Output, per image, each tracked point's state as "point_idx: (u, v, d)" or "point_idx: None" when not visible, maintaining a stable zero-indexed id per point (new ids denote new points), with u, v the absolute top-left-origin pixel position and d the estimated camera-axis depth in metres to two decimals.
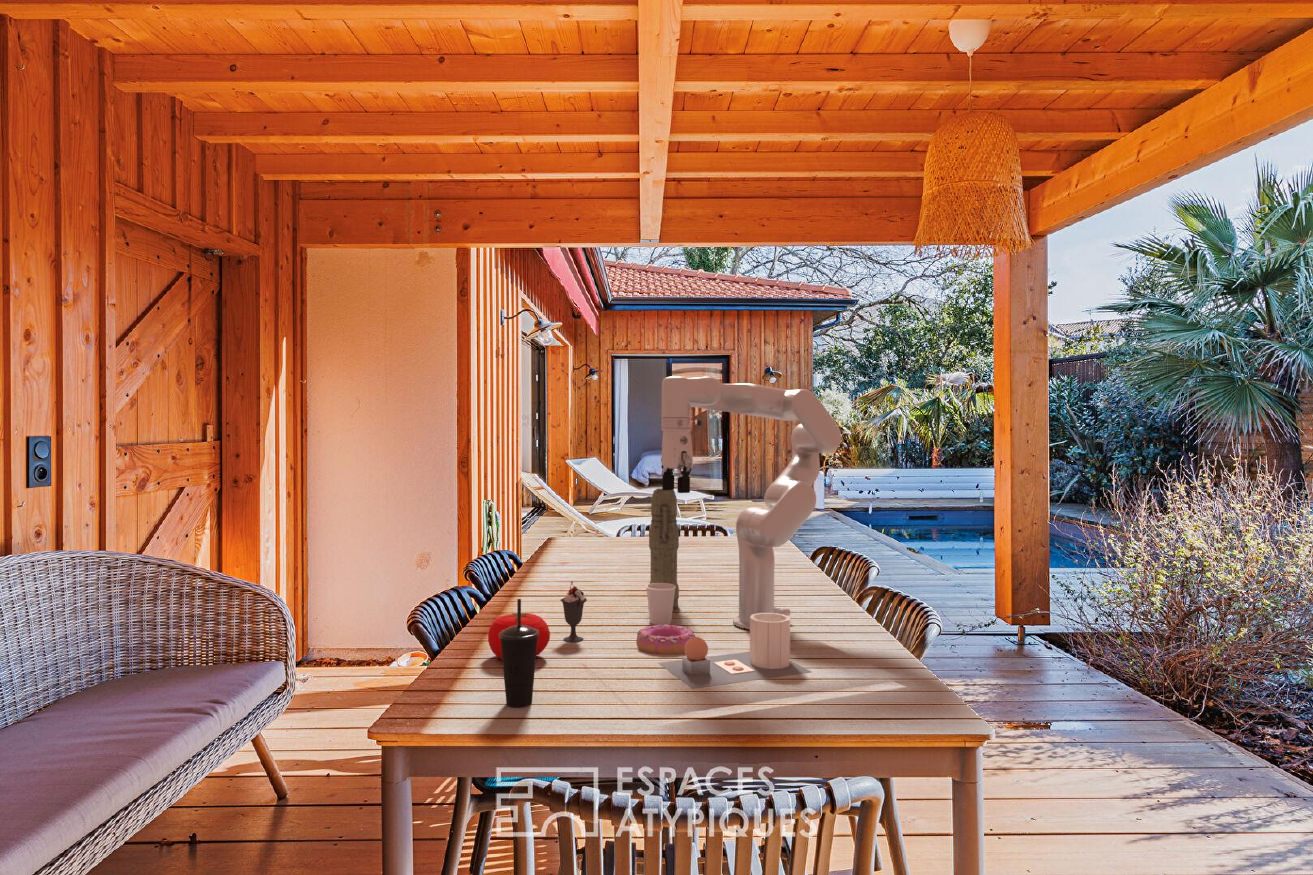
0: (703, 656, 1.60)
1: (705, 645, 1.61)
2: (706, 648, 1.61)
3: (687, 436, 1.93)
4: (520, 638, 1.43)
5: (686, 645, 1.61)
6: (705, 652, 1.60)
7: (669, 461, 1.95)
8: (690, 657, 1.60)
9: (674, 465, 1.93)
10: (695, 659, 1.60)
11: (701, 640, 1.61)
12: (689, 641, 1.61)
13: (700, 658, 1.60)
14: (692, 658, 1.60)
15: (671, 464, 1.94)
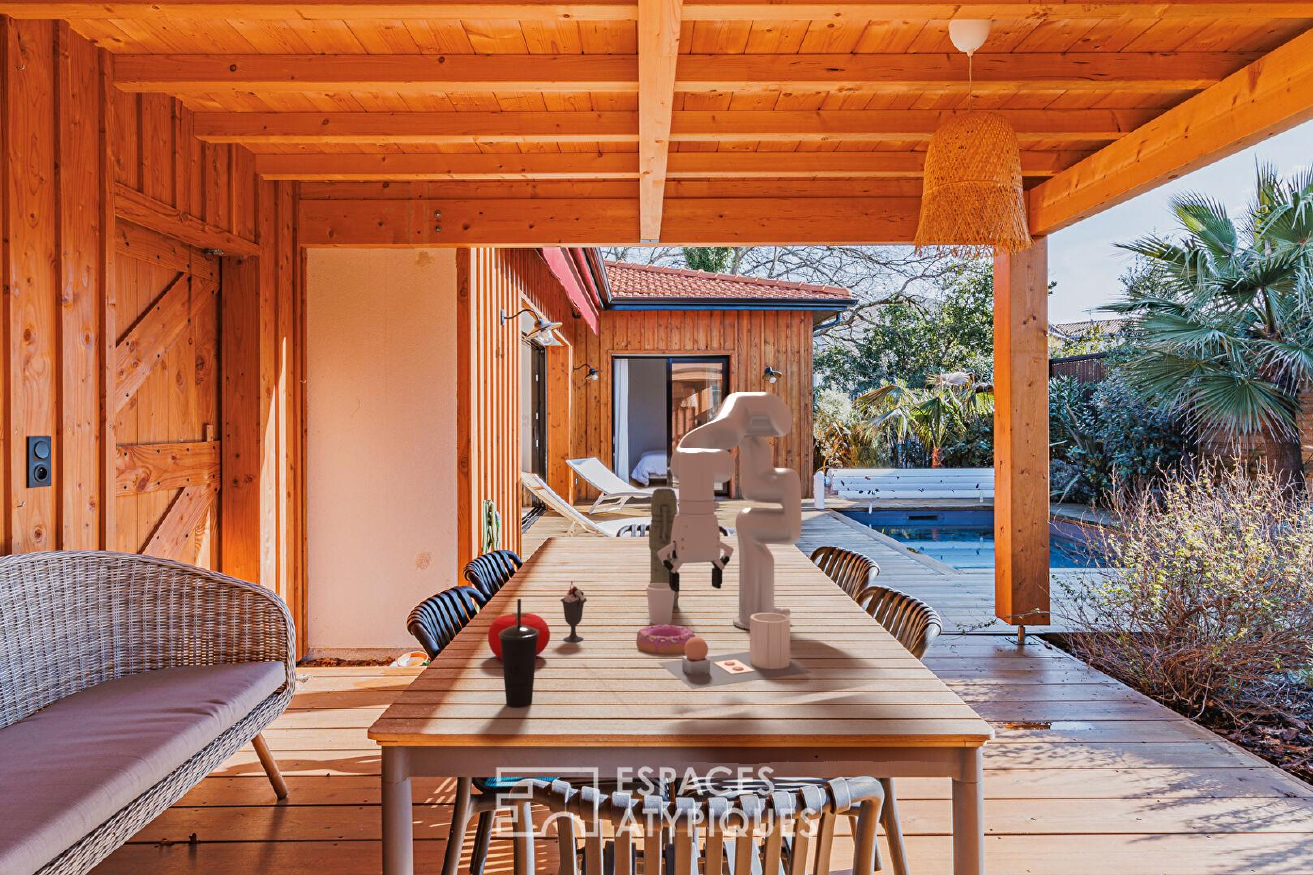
0: (703, 656, 1.60)
1: (705, 645, 1.61)
2: (706, 648, 1.61)
3: None
4: (520, 638, 1.43)
5: (686, 645, 1.61)
6: (705, 652, 1.60)
7: (704, 554, 1.60)
8: (690, 657, 1.60)
9: (716, 557, 1.62)
10: (695, 659, 1.60)
11: (701, 640, 1.61)
12: (689, 641, 1.61)
13: (700, 658, 1.60)
14: (692, 658, 1.60)
15: (708, 556, 1.61)
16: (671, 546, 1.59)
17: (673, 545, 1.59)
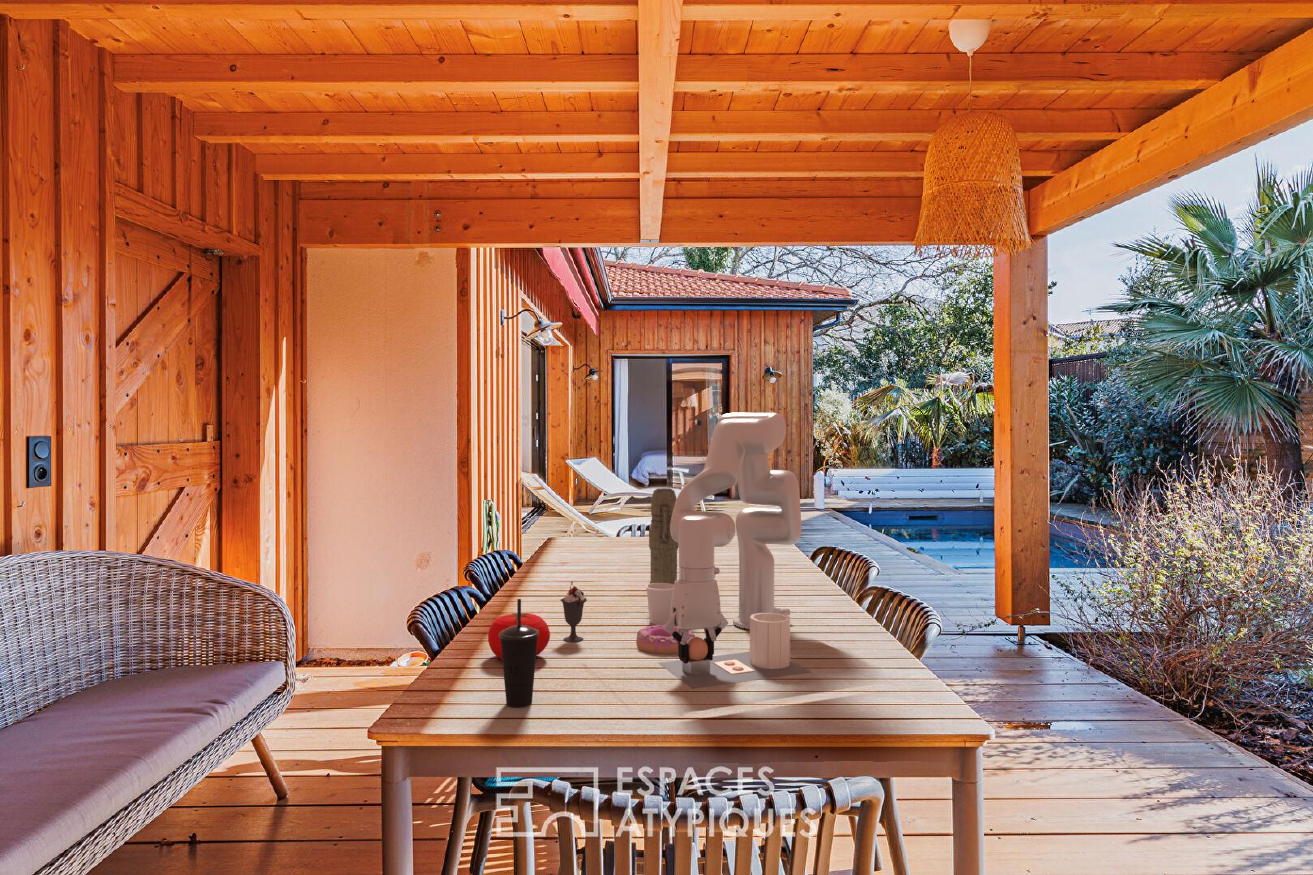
0: (703, 656, 1.60)
1: (705, 645, 1.61)
2: (706, 648, 1.61)
3: None
4: (520, 638, 1.43)
5: None
6: (705, 652, 1.60)
7: (704, 621, 1.60)
8: (690, 657, 1.60)
9: (716, 623, 1.61)
10: (695, 659, 1.60)
11: (701, 640, 1.61)
12: (689, 641, 1.61)
13: (700, 658, 1.60)
14: (692, 658, 1.60)
15: (709, 623, 1.61)
16: (674, 617, 1.59)
17: (675, 616, 1.60)
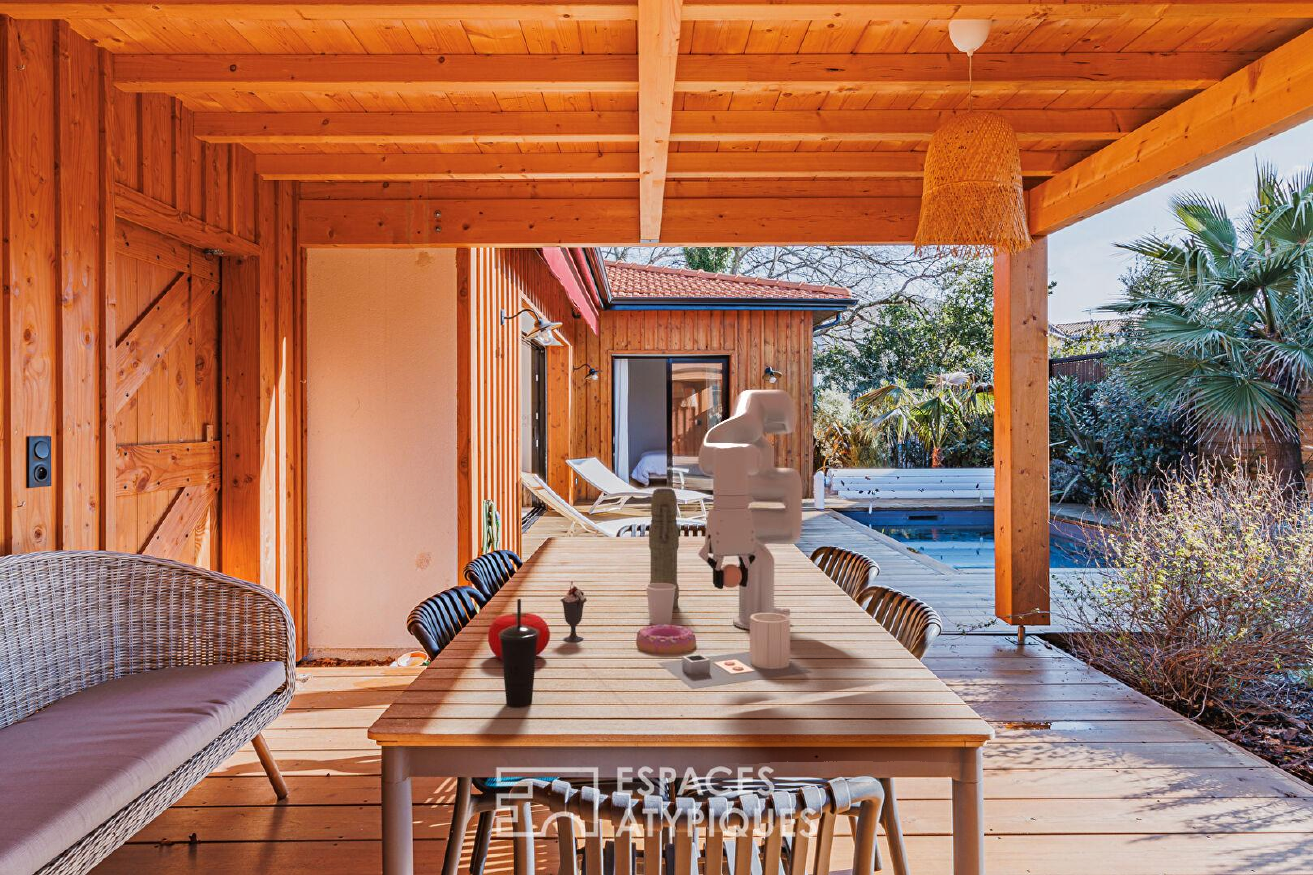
0: (737, 582, 1.63)
1: (739, 571, 1.64)
2: (740, 574, 1.64)
3: None
4: (520, 638, 1.43)
5: None
6: (739, 578, 1.63)
7: (738, 547, 1.63)
8: (724, 583, 1.63)
9: (750, 550, 1.64)
10: (729, 585, 1.63)
11: (735, 567, 1.64)
12: (723, 568, 1.64)
13: (734, 584, 1.63)
14: (726, 584, 1.63)
15: (743, 550, 1.64)
16: (709, 544, 1.62)
17: (710, 542, 1.63)
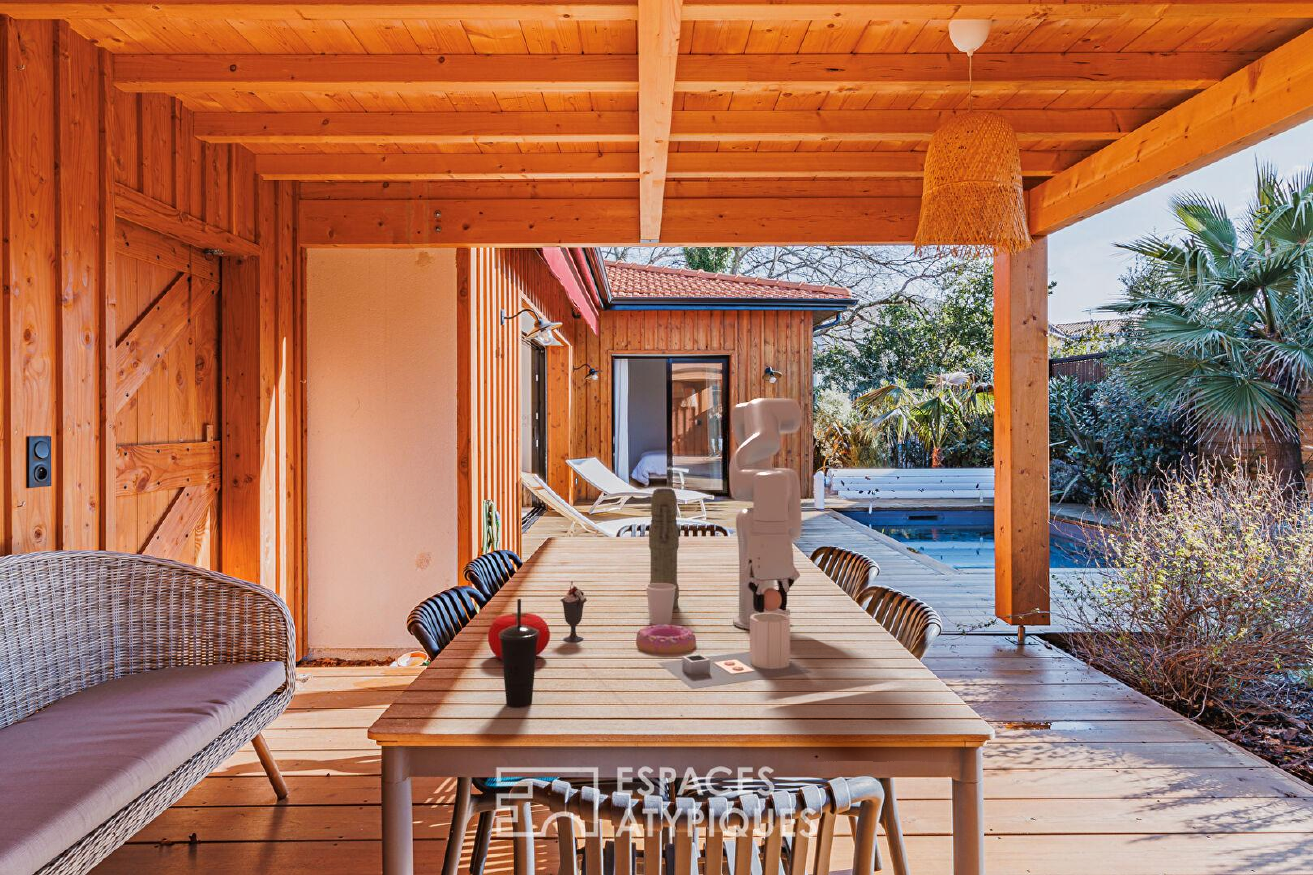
0: (778, 606, 1.67)
1: (779, 595, 1.68)
2: (780, 598, 1.68)
3: None
4: (520, 638, 1.43)
5: None
6: (779, 602, 1.67)
7: (779, 572, 1.67)
8: (765, 607, 1.67)
9: (789, 574, 1.68)
10: (770, 609, 1.67)
11: (775, 591, 1.68)
12: (764, 592, 1.68)
13: (775, 608, 1.67)
14: (767, 608, 1.67)
15: (783, 574, 1.67)
16: (750, 568, 1.66)
17: (751, 567, 1.66)
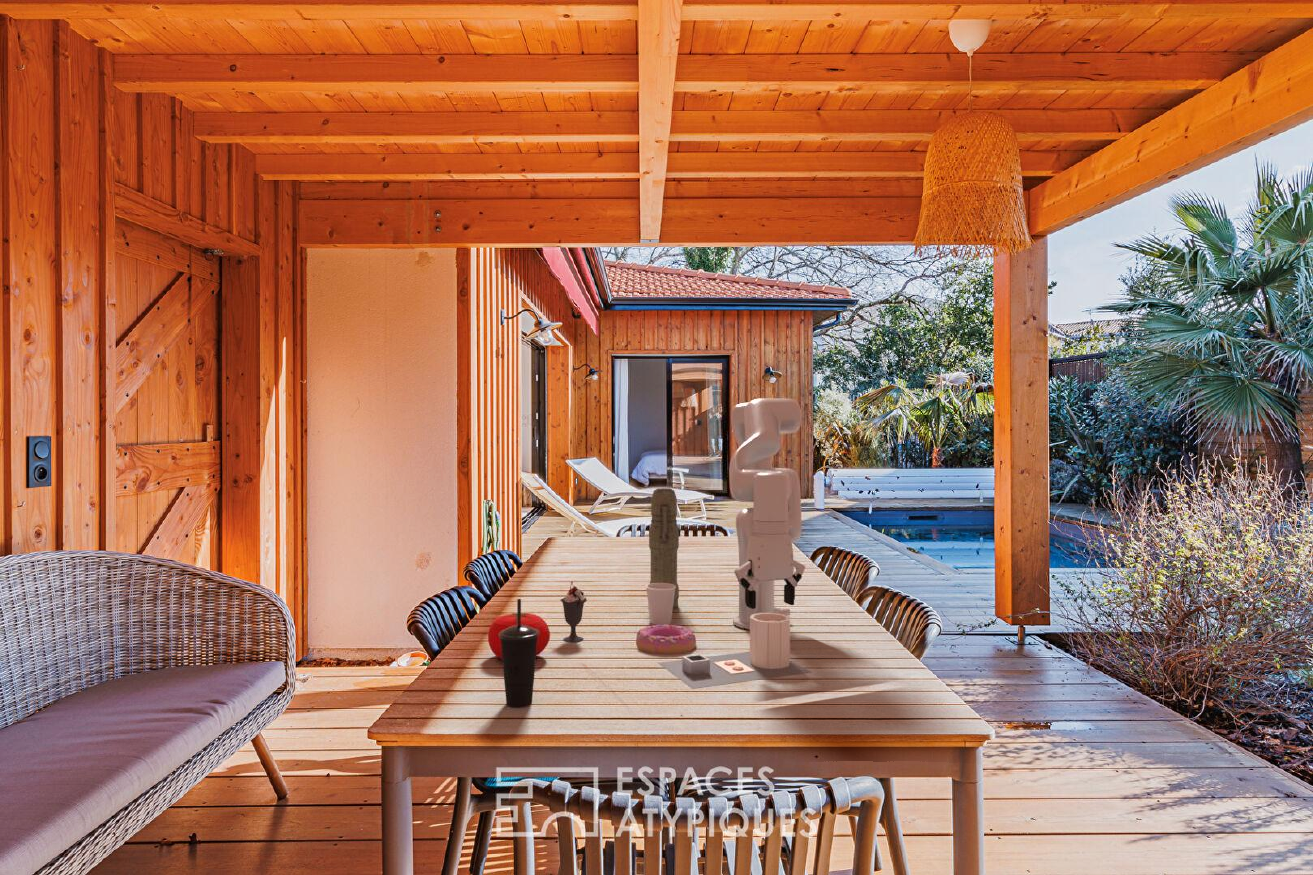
0: None
1: None
2: None
3: None
4: (520, 638, 1.43)
5: None
6: None
7: (779, 572, 1.67)
8: None
9: (789, 575, 1.68)
10: None
11: None
12: None
13: None
14: None
15: (783, 574, 1.67)
16: (748, 565, 1.66)
17: (749, 564, 1.66)
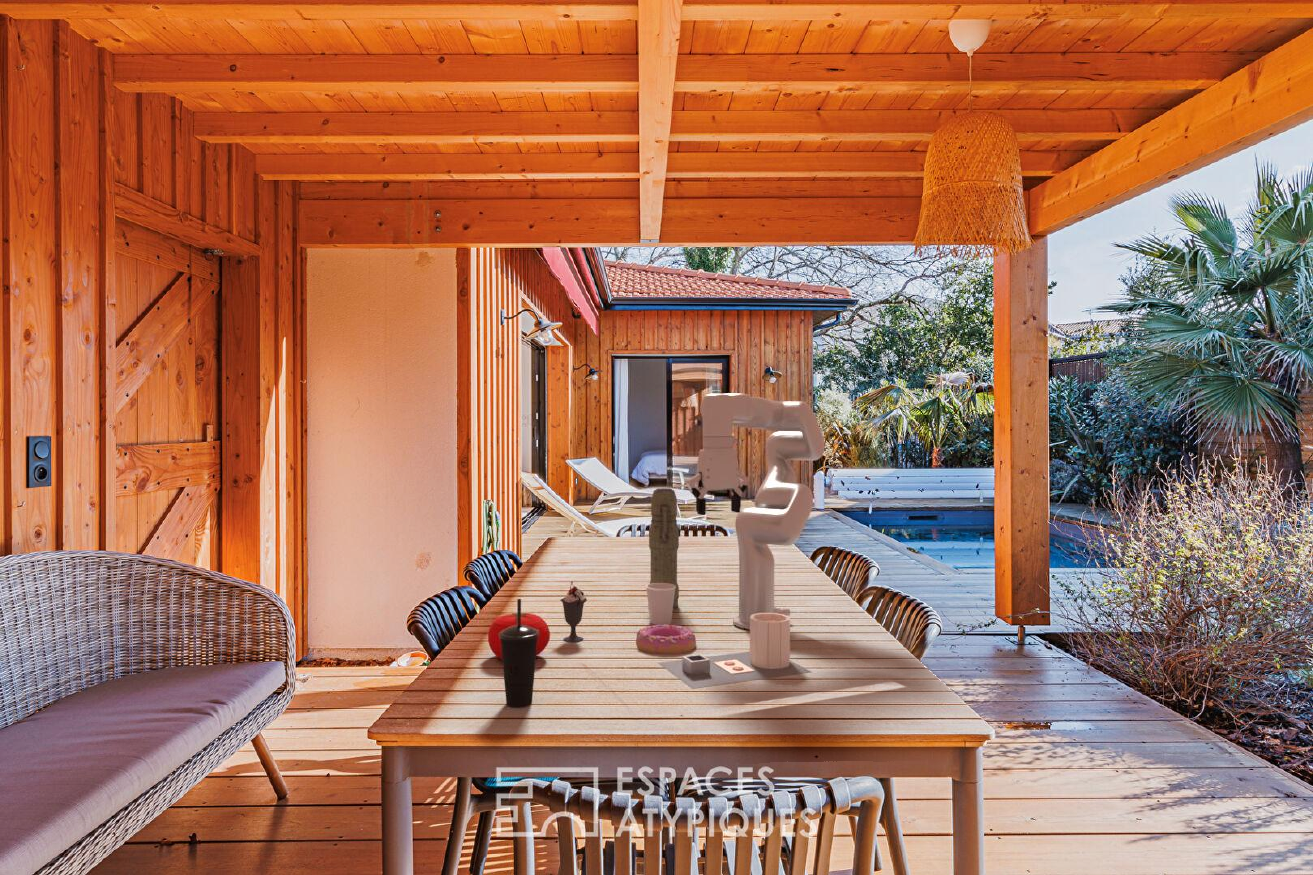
0: None
1: None
2: None
3: None
4: (520, 638, 1.43)
5: None
6: None
7: (726, 482, 1.87)
8: None
9: (735, 485, 1.88)
10: None
11: None
12: None
13: None
14: None
15: (729, 485, 1.87)
16: (698, 476, 1.85)
17: (699, 475, 1.86)
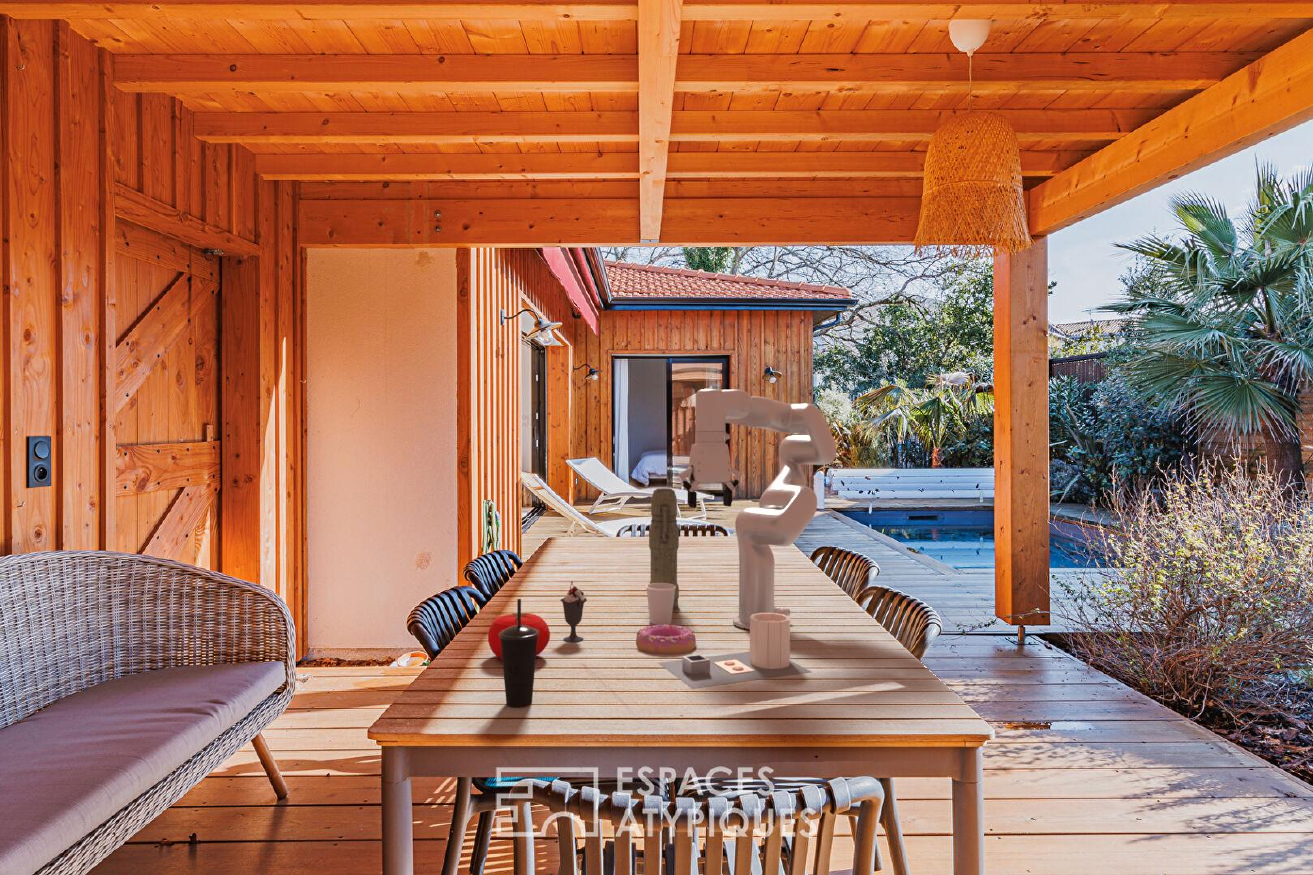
0: None
1: None
2: None
3: None
4: (520, 638, 1.43)
5: None
6: None
7: (717, 476, 1.90)
8: None
9: (727, 479, 1.91)
10: None
11: None
12: None
13: None
14: None
15: (721, 479, 1.91)
16: (689, 469, 1.89)
17: (691, 468, 1.89)
